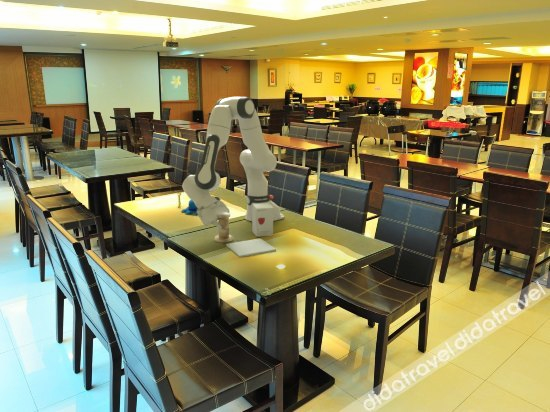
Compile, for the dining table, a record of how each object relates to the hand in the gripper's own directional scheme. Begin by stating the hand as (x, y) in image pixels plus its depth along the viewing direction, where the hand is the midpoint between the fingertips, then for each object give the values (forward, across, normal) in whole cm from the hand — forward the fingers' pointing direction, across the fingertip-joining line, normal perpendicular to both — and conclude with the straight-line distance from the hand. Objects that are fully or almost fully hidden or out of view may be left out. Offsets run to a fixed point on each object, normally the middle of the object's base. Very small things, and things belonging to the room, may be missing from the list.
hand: (224, 226), depth 203 cm
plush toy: (-23, +36, +33) cm, 54 cm away
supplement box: (+14, +16, -4) cm, 22 cm away
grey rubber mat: (+16, -5, -7) cm, 18 cm away
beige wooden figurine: (+4, 0, +5) cm, 7 cm away
